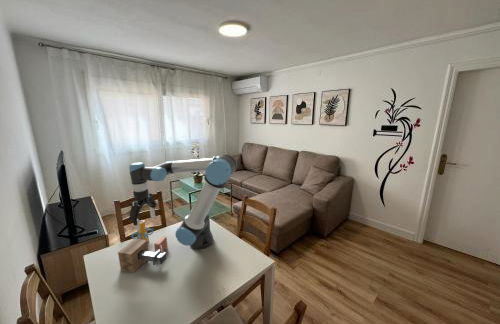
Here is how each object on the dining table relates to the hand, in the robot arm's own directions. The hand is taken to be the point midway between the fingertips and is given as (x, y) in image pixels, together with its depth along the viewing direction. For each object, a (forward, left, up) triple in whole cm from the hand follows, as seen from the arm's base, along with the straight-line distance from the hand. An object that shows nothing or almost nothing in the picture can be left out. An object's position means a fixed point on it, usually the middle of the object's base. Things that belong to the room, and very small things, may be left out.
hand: (145, 223), depth 120 cm
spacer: (-8, 0, -18) cm, 20 cm away
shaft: (-9, +12, -14) cm, 21 cm away
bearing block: (0, +12, -18) cm, 21 cm away
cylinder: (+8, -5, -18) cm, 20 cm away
